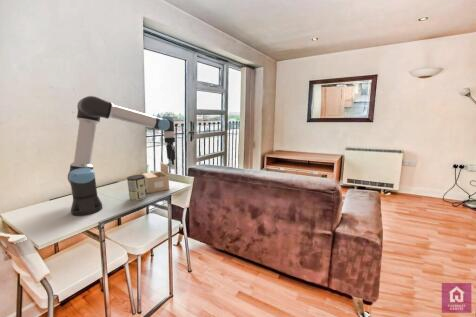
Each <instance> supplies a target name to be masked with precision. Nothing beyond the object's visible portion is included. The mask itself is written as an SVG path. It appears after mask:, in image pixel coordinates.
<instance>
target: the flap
mask: <svg viewBox="0 0 476 317" xmlns="http://www.w3.org/2000/svg"><path fill="white" fill-rule="evenodd" d="M169 167H171V162H169V161H168V163H164V162H162V161H160V172H162V173H164V174H166V175H167V176H169V173H170V172H169Z"/></svg>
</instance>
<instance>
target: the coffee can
mask: <svg viewBox="0 0 476 317" xmlns="http://www.w3.org/2000/svg"><path fill="white" fill-rule="evenodd" d="M144 177H145V176H144V175H142V174H134V175H130V176H128V177H126V180H127V188H128V195H129V200H130V201H141V200H144V199H146V198H147V191H146V188H145V178H144Z"/></svg>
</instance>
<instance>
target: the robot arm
mask: <svg viewBox="0 0 476 317" xmlns="http://www.w3.org/2000/svg"><path fill="white" fill-rule="evenodd" d="M101 118H104V119H108V120H109V119H110V118H111V119H115V120H120V121H122V122H123V121H124V122H127V123H131V124H135V125H139V126H143V127H145V128H146V130H147V131H161V132H162V131H163V137H164V138H163V140H164V141H163V142H164V143H165V144H166V145H165V147H166V148H165V149H166V158H167V160H168V163H169V162H171V167H169V166H168V169H171V170H175V169H176V164H175V160H176V151H175V150H176V146H175V145H174V143H176V137H175V134H176V132H175V121H174V117H173V115H163V116H162V118H160V117H158V116H154V115H150V114H147V113H143V112H141V111H140V112H139V111H137V110H133V109H129V108H127V107H123V106H118V105H116V104H114V103H113V102H111V101H109V100H105V99H102V98H100V97H99V96H98V97H97V96H94V95H89V96H85V97H83V98H81V99H80V100H79V101H78V103H77V114H76V119H77V120H78V121H79V123H78V129H77V136H76V137H77V138H76V144H75V152H74V160H73V162H72V163H70V166H69V172H68V174H67V180H68V183H69V185H70V188H71V195H72V203H71V207H70V213H71V214H70V215H72V216H75V217H76V216H77V217H79V216H80V217H81V216H86V215H91V214H94V213H97V212H99V211H101V210H103V209H104V208H103V203H102V201H101V199H100V197H99V195H98V190H97V189H98V188H97V183H96V173H95V171H94V165H93V164H92V159H93V158H92V156H93V151H94V146H95V145H94V144H95V137H96V136H95V135H96V130H97V124H99V123H100V122H101Z"/></svg>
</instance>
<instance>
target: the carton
mask: <svg viewBox="0 0 476 317" xmlns="http://www.w3.org/2000/svg"><path fill="white" fill-rule="evenodd" d="M141 175H144V176H145V177H144V178H145V188H146V193H148V194H153V193H159V192H164V191H163V190H165V191H169V190H170V183H169V182H170V180H169V175H166V174H165V173H163V172H162V171H158V172H157V171H156V172H152V171H150V172H144V173H142V174H141Z"/></svg>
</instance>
